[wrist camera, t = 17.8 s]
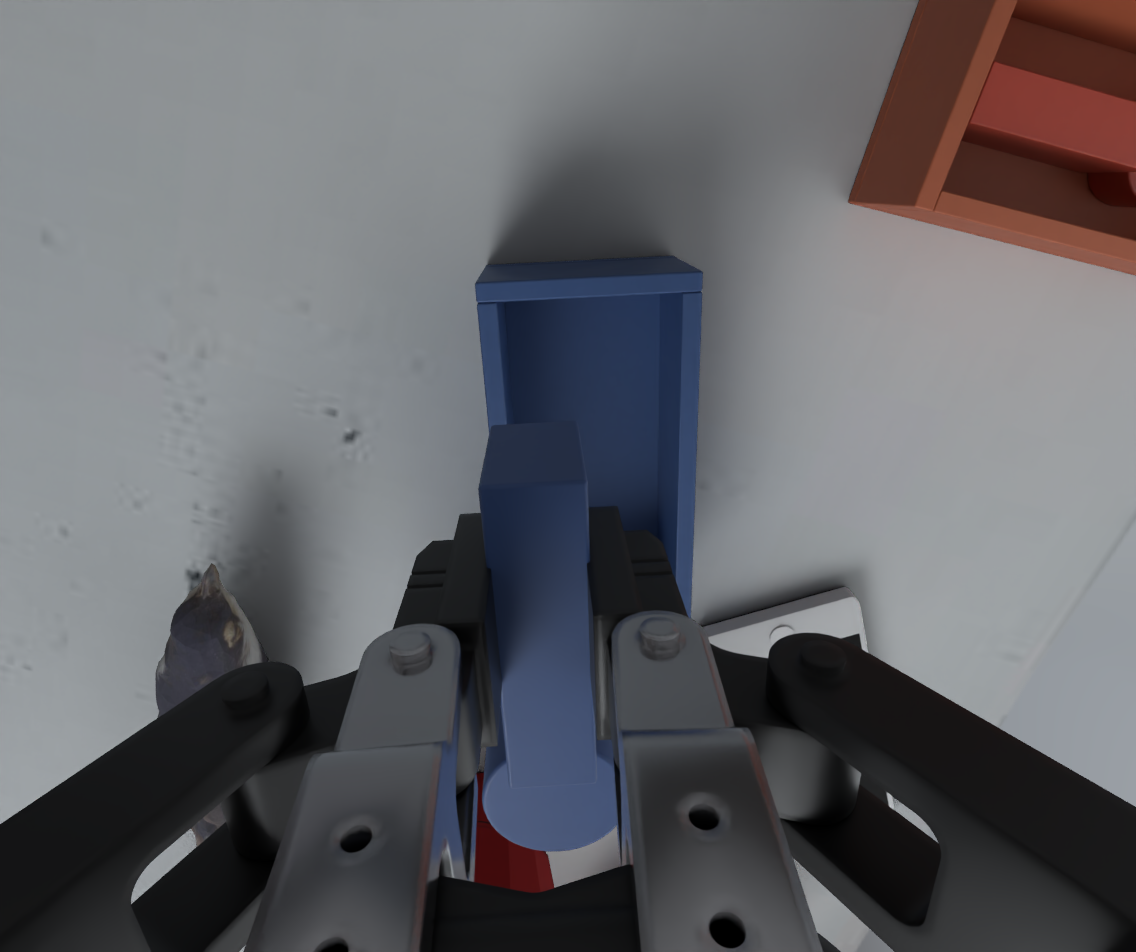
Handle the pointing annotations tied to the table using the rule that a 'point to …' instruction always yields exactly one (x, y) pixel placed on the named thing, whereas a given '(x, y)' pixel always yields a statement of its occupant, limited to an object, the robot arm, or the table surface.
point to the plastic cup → (507, 858)
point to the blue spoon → (543, 642)
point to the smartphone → (807, 615)
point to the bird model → (205, 656)
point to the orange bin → (986, 176)
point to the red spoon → (1059, 128)
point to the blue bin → (606, 378)
